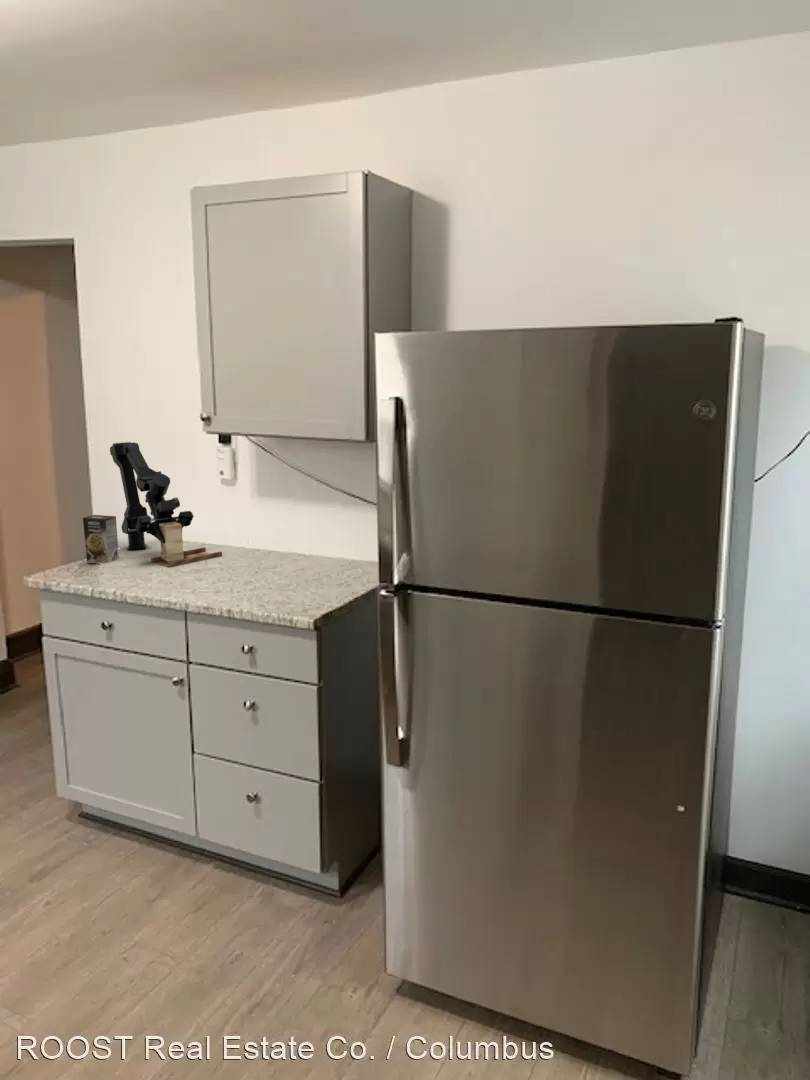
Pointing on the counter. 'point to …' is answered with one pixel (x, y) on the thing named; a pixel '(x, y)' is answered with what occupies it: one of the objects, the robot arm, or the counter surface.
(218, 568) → the counter surface
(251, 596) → the counter surface
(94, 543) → the coffee box
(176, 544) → the stack of paper
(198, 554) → the bay
